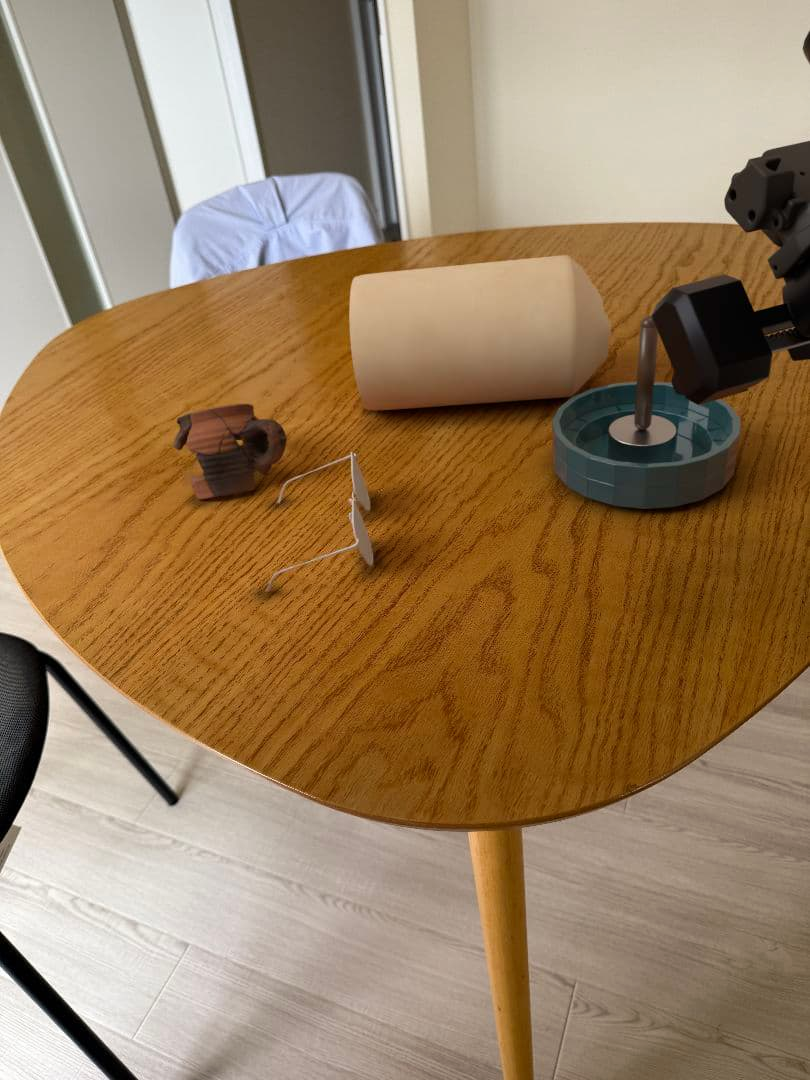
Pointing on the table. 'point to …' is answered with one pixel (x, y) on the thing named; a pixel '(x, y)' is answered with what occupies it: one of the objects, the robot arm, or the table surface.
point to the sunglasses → (354, 516)
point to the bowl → (689, 478)
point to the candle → (476, 333)
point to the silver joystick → (643, 413)
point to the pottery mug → (229, 448)
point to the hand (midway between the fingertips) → (734, 370)
